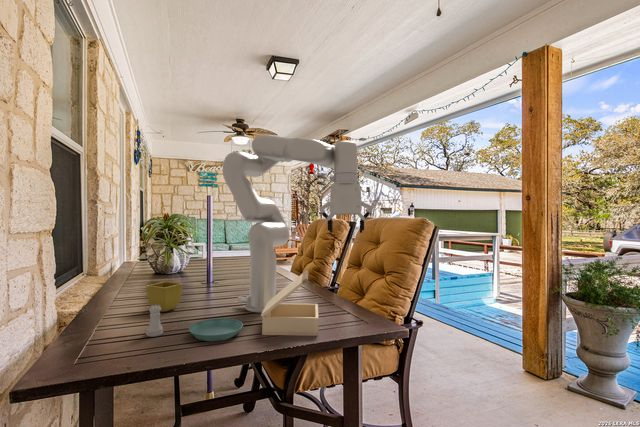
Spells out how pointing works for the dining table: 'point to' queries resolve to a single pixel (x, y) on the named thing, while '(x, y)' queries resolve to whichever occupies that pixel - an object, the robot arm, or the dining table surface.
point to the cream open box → (291, 320)
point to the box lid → (285, 292)
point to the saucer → (216, 329)
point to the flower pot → (164, 295)
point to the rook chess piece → (154, 322)
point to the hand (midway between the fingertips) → (346, 232)
